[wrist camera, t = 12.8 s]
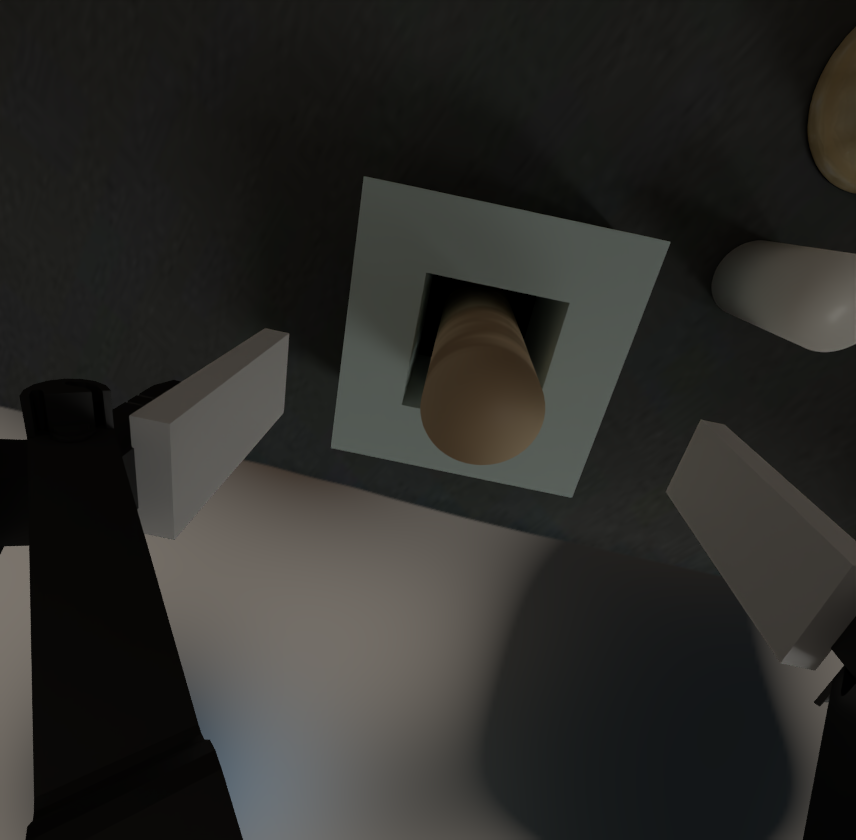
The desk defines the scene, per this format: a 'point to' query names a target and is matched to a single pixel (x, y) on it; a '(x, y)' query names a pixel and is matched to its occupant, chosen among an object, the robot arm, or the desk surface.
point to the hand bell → (836, 117)
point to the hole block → (498, 267)
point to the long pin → (481, 381)
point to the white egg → (791, 292)
